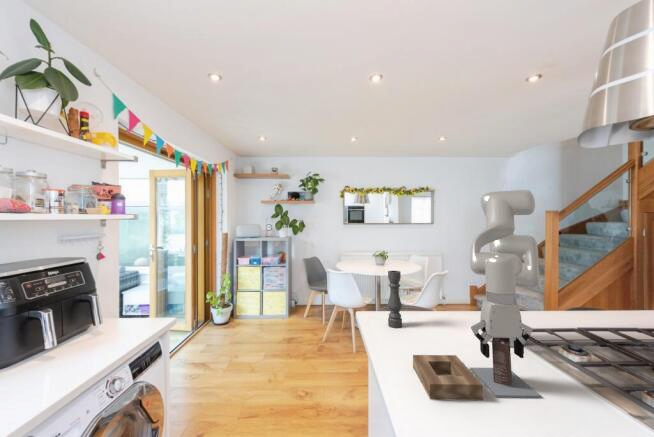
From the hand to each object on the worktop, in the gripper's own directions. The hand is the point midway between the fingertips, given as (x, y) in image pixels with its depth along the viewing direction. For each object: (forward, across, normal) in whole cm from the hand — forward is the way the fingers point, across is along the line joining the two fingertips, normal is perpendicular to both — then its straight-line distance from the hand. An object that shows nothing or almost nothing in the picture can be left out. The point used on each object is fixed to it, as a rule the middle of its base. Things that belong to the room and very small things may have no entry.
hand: (502, 355), depth 79 cm
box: (+7, 0, 0) cm, 7 cm away
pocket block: (+8, +17, 0) cm, 19 cm away
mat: (+8, 0, 0) cm, 8 cm away
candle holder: (+8, +22, -44) cm, 50 cm away
